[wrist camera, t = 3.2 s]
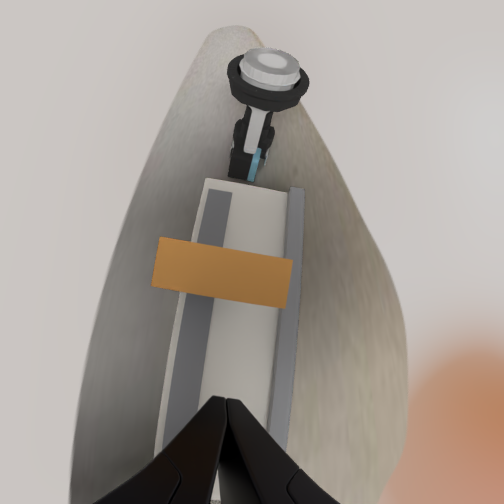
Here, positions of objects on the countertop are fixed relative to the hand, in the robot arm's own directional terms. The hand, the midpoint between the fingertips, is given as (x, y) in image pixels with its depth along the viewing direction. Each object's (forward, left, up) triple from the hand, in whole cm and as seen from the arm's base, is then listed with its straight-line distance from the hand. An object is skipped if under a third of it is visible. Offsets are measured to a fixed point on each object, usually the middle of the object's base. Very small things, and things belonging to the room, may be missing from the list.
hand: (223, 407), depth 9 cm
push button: (+12, +15, -11) cm, 22 cm away
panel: (+3, +3, -11) cm, 12 cm away
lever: (+4, +6, -7) cm, 10 cm away
